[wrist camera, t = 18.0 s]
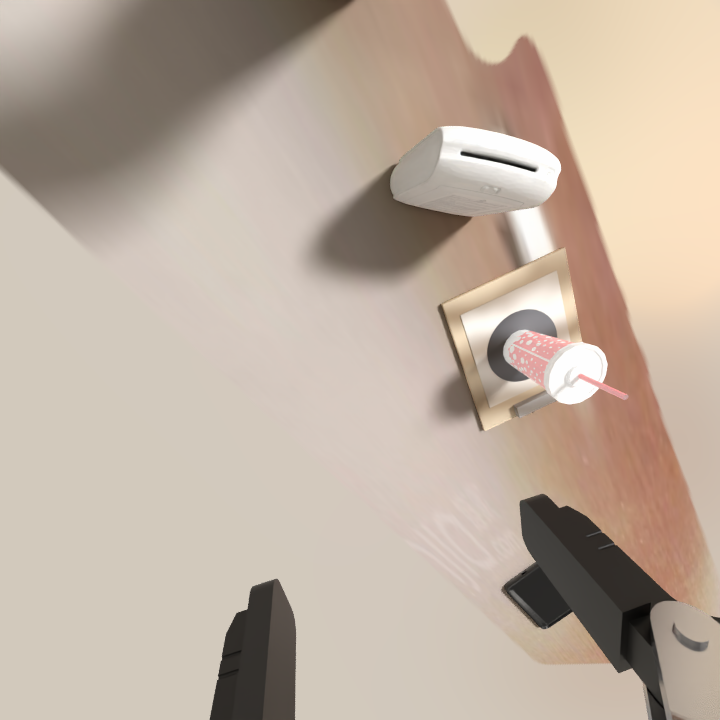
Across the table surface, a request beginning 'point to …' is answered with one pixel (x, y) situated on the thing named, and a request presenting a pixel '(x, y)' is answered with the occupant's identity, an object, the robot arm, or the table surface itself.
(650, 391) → the table surface
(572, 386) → the beverage cup
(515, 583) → the phone
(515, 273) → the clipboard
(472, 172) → the photo printer
